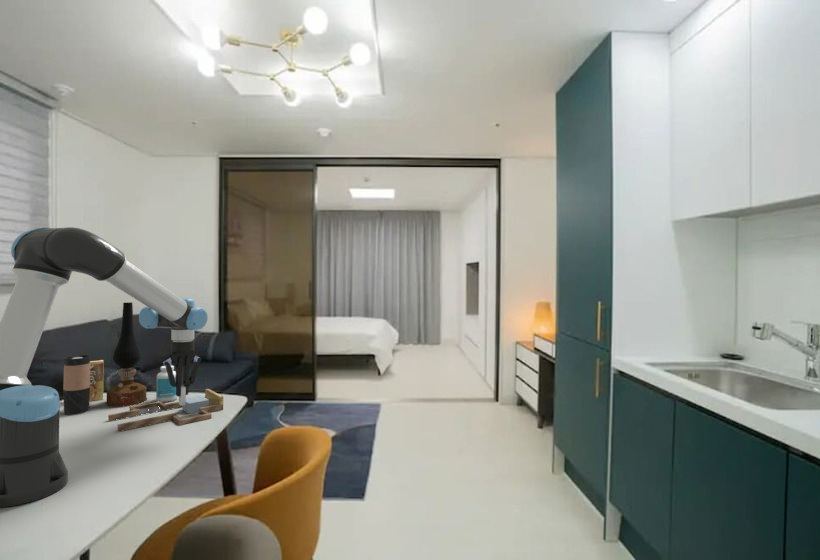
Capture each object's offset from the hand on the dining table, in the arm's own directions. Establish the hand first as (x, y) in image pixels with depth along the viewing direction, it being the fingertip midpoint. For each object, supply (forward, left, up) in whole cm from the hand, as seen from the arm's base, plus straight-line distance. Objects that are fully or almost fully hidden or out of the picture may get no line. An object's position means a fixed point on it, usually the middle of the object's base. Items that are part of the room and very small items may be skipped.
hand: (182, 404), depth 155 cm
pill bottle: (+1, +20, -3) cm, 20 cm away
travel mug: (-27, +26, -3) cm, 38 cm away
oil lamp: (-11, +28, -3) cm, 30 cm away
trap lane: (-5, 0, -3) cm, 6 cm away
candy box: (-21, +40, -3) cm, 45 cm away
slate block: (+5, 0, -3) cm, 6 cm away
